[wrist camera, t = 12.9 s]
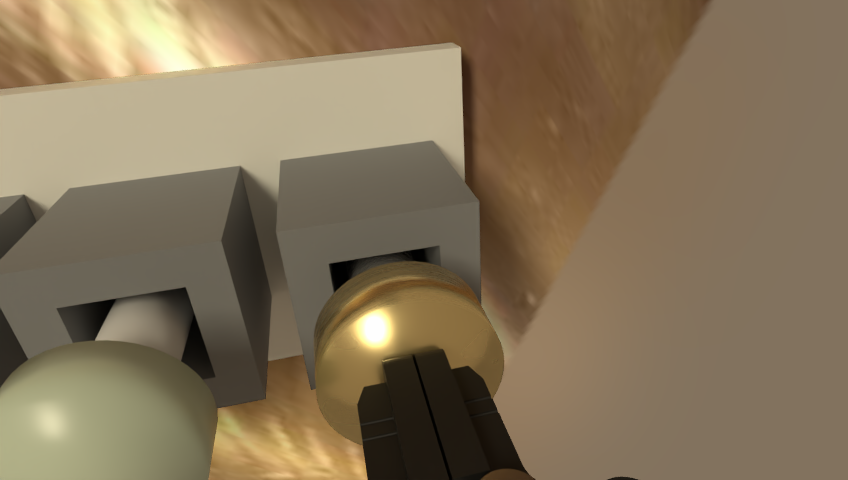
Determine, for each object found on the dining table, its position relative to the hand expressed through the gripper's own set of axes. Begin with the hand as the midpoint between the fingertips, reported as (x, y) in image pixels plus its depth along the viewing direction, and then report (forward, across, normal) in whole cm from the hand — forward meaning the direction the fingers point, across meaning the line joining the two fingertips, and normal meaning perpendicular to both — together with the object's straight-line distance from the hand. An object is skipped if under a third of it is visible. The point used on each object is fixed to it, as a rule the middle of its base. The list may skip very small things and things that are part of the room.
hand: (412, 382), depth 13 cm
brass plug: (+8, 0, 0) cm, 8 cm away
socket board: (+10, +7, 0) cm, 13 cm away
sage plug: (+7, +7, 0) cm, 10 cm away
